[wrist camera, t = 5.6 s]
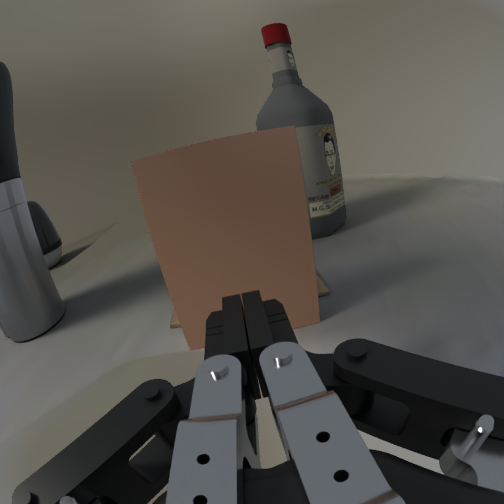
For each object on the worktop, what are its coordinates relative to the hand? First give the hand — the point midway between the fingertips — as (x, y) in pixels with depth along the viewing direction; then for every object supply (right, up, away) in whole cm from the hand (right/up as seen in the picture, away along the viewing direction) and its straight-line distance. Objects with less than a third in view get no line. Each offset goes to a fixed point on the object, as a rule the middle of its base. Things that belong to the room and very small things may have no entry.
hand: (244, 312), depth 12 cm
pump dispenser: (-44, -1, +41) cm, 60 cm away
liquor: (+9, +6, +30) cm, 32 cm away
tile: (0, -4, +10) cm, 11 cm away
